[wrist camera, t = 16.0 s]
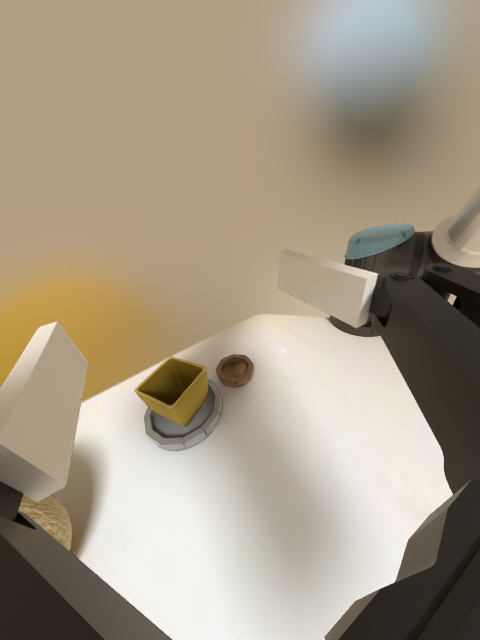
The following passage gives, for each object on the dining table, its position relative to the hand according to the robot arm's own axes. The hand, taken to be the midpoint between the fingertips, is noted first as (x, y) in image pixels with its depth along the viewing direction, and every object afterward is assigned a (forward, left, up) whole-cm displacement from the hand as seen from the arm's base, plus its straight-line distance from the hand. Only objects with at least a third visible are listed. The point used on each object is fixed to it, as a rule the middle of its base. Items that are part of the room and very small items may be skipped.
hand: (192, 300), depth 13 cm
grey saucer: (+4, -17, -29) cm, 34 cm away
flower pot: (+4, -16, -29) cm, 34 cm away
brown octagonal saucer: (-8, -20, -29) cm, 36 cm away
